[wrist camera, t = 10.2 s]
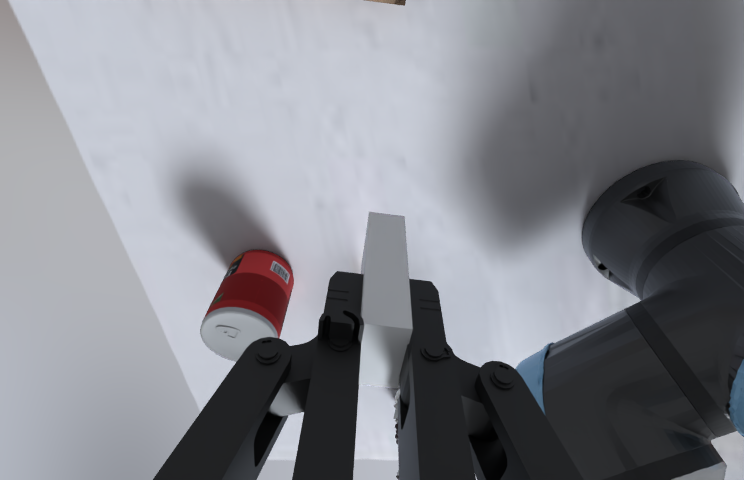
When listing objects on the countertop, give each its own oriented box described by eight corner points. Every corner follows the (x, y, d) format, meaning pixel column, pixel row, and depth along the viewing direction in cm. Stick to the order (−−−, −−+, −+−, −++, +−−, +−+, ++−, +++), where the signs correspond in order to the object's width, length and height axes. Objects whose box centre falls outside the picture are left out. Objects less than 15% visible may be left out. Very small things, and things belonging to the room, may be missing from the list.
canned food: (231, 242, 50) (197, 305, 41) (298, 253, 51) (279, 318, 41) (230, 290, 54) (200, 357, 45) (292, 300, 55) (274, 368, 46)
